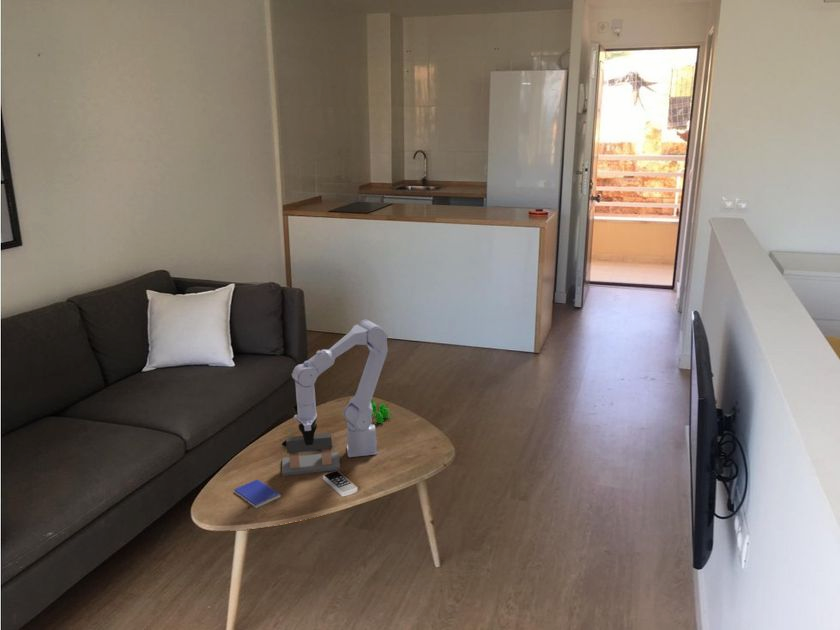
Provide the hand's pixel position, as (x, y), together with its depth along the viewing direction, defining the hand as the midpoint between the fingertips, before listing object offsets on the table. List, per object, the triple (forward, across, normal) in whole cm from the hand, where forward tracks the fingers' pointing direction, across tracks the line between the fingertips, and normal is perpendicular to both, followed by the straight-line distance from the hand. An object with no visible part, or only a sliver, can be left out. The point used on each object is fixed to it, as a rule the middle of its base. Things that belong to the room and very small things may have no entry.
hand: (309, 441), depth 210 cm
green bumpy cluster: (+9, -31, +23) cm, 39 cm away
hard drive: (+9, +14, -16) cm, 23 cm away
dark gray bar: (+2, 0, 0) cm, 2 cm away
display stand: (+8, 0, 0) cm, 8 cm away
